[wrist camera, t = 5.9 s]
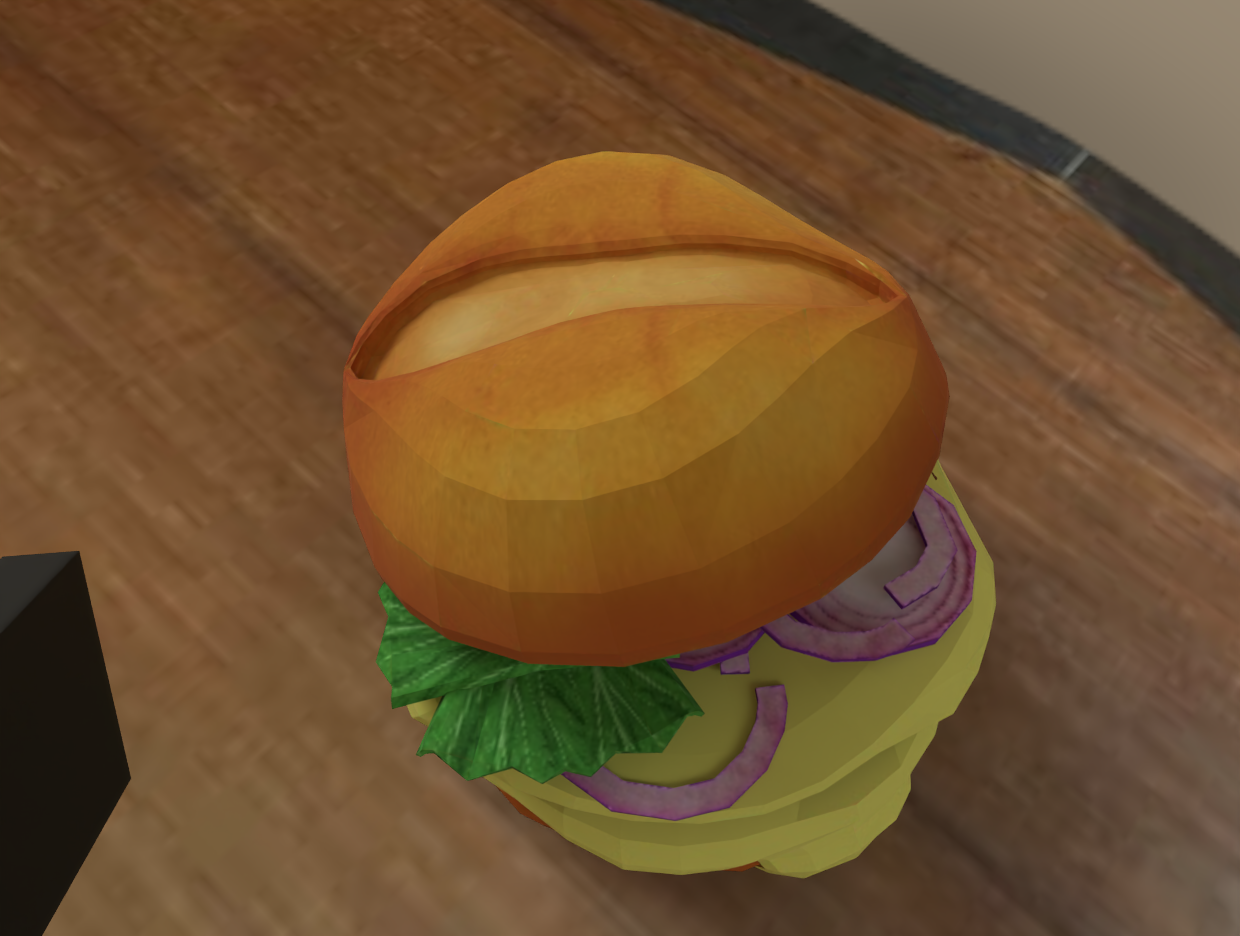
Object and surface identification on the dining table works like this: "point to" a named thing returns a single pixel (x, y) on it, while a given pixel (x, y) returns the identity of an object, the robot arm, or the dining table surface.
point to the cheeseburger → (665, 518)
